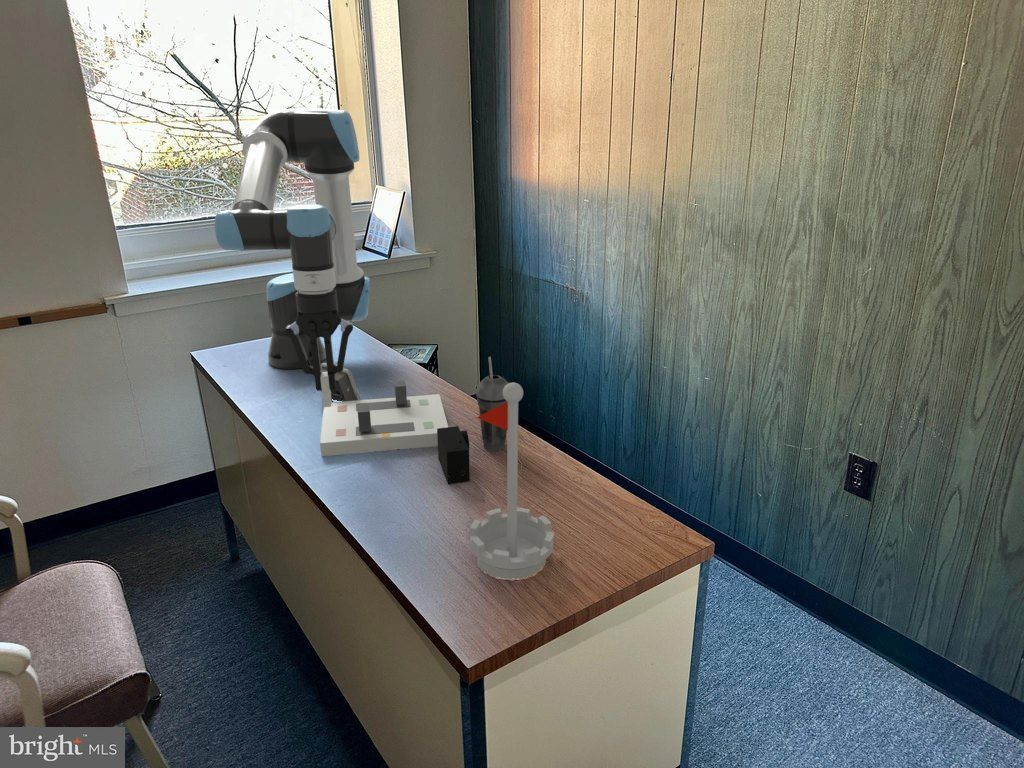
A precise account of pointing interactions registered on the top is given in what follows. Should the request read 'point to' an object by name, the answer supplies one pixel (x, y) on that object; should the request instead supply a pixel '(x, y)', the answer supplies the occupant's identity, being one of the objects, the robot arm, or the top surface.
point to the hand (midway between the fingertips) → (327, 404)
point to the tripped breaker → (364, 418)
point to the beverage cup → (488, 400)
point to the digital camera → (454, 454)
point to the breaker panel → (382, 425)
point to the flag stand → (510, 512)
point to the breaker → (400, 392)
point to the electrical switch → (343, 385)
